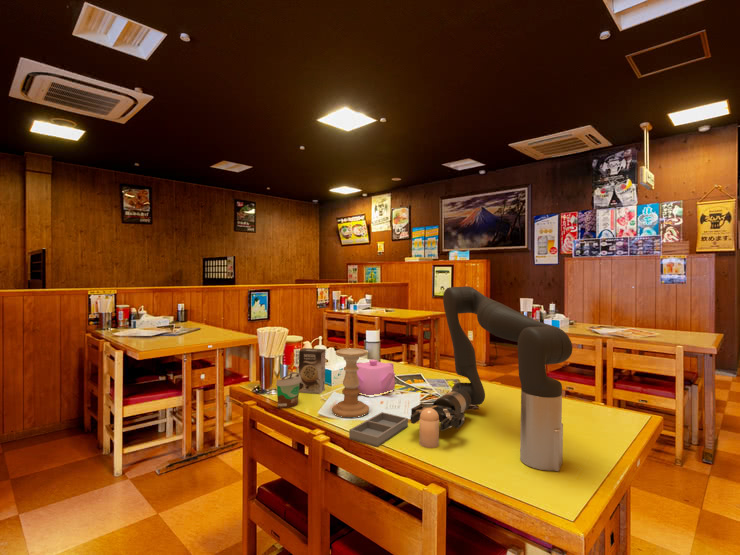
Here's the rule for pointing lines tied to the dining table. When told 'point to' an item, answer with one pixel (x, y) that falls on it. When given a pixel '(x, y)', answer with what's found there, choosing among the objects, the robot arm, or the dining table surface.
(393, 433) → the divided tray
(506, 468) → the dining table surface
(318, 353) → the coffee box
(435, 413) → the peach domed shaker
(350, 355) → the candle holder
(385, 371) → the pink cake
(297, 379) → the food container
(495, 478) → the dining table surface
